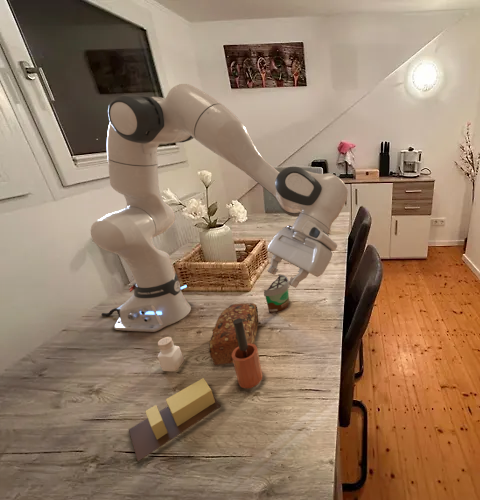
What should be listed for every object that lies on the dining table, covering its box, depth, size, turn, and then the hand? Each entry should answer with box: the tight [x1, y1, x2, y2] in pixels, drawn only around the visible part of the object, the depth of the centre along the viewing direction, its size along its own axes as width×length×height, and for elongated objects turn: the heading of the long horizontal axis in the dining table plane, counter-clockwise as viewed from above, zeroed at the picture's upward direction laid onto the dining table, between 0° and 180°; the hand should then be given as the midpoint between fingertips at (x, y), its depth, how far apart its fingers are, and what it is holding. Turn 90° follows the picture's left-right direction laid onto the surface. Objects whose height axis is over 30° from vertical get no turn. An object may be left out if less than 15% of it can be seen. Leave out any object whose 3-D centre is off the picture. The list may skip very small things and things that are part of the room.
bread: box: [208, 302, 260, 366], centre depth 83 cm, size 19×11×10 cm, turn 9°
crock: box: [232, 343, 263, 389], centre depth 70 cm, size 6×6×10 cm
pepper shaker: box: [157, 336, 185, 372], centre depth 74 cm, size 4×4×10 cm
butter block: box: [165, 377, 215, 426], centre depth 63 cm, size 8×5×4 cm, turn 135°
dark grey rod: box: [233, 318, 248, 358], centre depth 68 cm, size 2×2×18 cm
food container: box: [263, 273, 291, 314], centre depth 100 cm, size 12×6×10 cm, turn 168°
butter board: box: [128, 394, 222, 462], centre depth 62 cm, size 16×9×1 cm, turn 135°
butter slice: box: [144, 404, 168, 439], centre depth 59 cm, size 2×5×4 cm, turn 46°
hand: (280, 279), depth 70 cm, fingers open, 8 cm apart
